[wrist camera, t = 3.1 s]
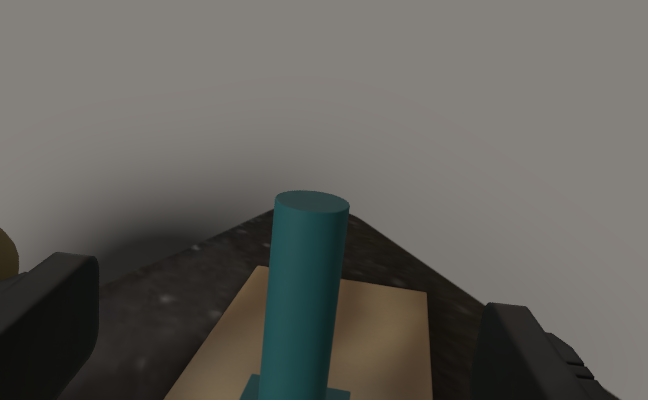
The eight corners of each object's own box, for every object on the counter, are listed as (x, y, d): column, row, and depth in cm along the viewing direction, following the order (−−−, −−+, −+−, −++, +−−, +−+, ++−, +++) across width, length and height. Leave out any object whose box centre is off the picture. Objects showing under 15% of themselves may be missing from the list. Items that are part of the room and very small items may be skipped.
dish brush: (345, 432, 28) (378, 193, 25) (331, 510, 23) (370, 229, 20) (248, 413, 29) (267, 178, 25) (215, 486, 24) (233, 209, 20)
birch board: (424, 303, 46) (426, 292, 45) (440, 611, 21) (444, 590, 20) (256, 276, 47) (257, 265, 47) (83, 531, 22) (83, 511, 22)
